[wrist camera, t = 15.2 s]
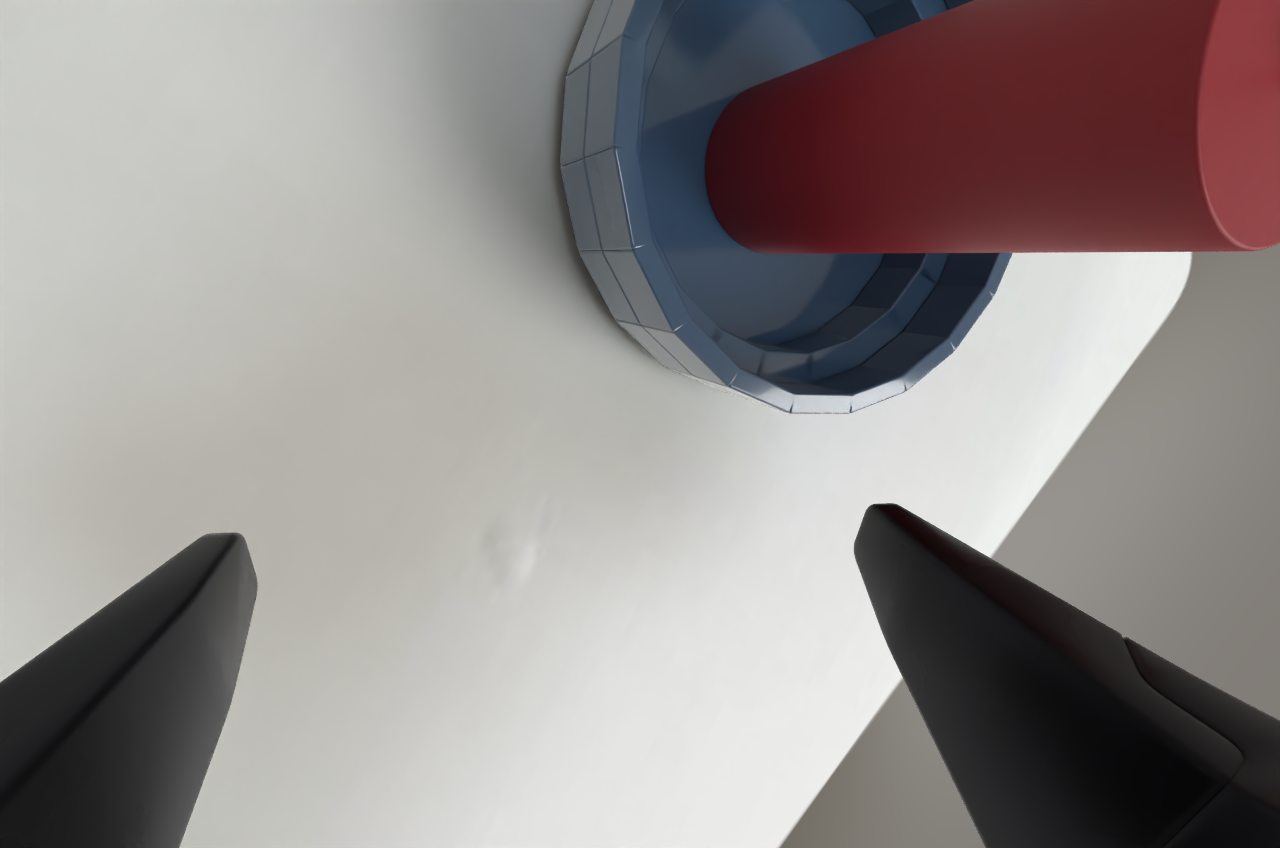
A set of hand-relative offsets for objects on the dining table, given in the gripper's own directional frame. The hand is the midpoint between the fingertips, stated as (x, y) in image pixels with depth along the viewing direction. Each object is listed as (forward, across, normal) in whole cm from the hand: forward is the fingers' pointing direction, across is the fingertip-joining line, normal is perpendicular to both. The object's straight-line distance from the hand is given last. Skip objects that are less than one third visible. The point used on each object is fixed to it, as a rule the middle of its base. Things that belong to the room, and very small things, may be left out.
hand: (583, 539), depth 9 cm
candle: (+13, -7, -3) cm, 15 cm away
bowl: (+14, -7, -3) cm, 16 cm away
